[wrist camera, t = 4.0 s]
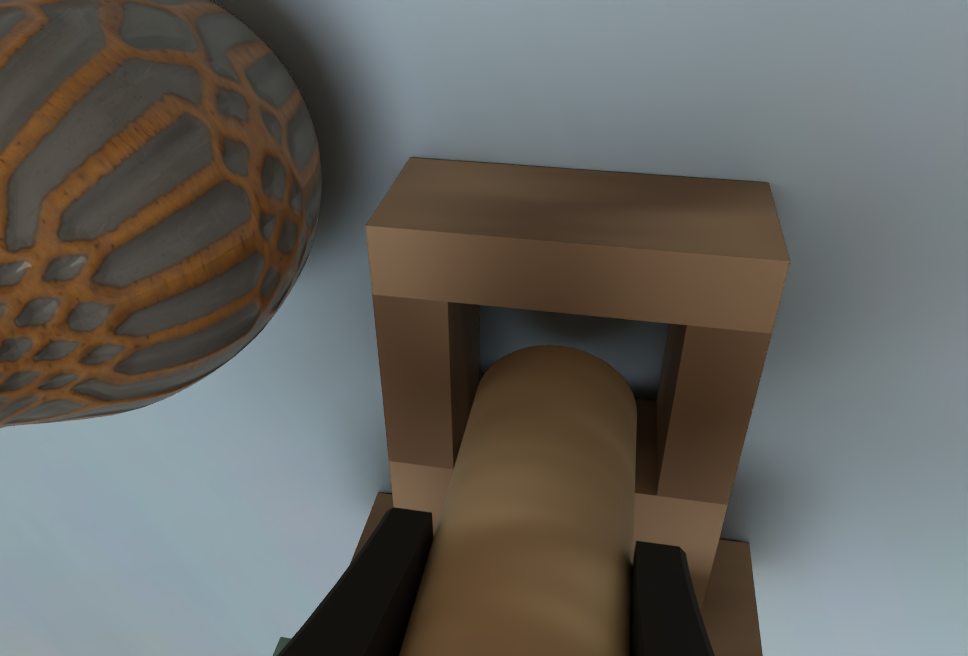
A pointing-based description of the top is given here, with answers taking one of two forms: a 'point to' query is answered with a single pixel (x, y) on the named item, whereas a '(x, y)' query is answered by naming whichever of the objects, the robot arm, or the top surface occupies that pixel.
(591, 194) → the brown boxy frame piece
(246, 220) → the vase
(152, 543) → the top surface
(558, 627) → the oak peg
